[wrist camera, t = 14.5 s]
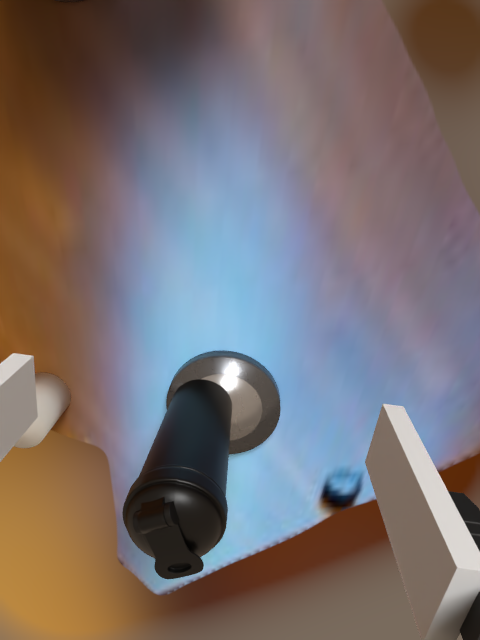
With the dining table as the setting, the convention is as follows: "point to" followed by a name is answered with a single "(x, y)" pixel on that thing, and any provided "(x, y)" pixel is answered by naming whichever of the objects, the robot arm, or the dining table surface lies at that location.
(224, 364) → the grey plate
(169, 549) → the water bottle
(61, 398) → the white rounded capsule
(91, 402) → the dining table surface
